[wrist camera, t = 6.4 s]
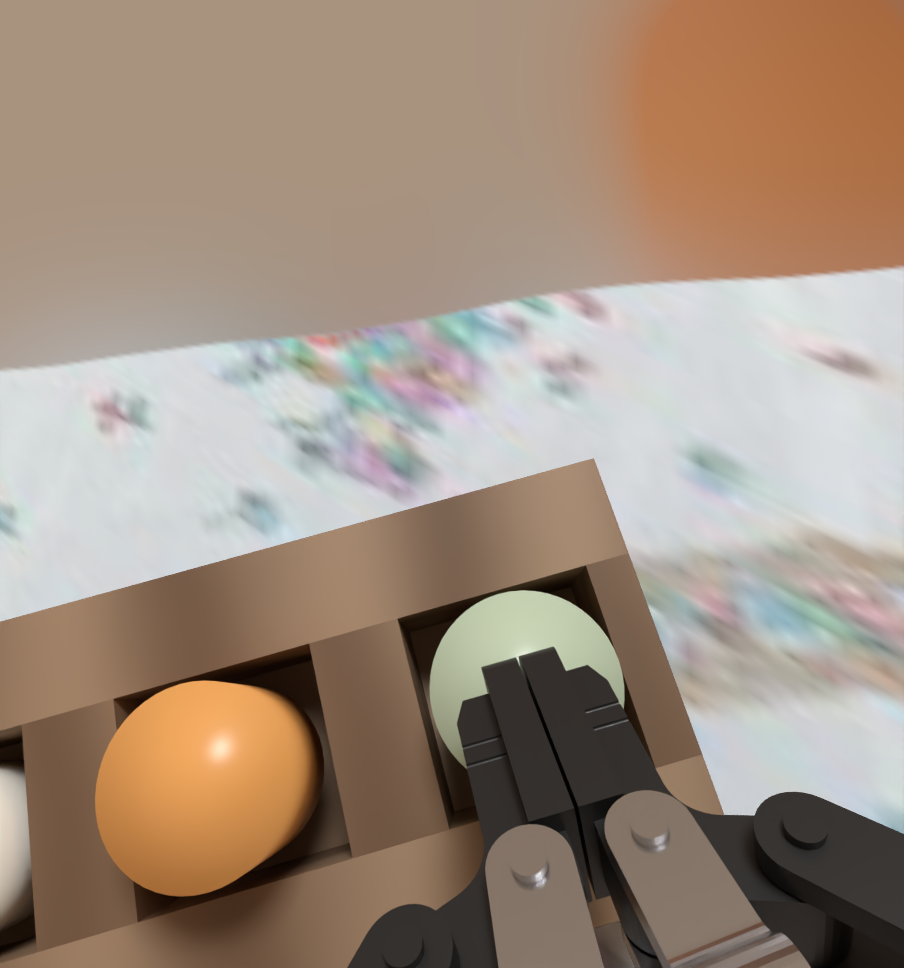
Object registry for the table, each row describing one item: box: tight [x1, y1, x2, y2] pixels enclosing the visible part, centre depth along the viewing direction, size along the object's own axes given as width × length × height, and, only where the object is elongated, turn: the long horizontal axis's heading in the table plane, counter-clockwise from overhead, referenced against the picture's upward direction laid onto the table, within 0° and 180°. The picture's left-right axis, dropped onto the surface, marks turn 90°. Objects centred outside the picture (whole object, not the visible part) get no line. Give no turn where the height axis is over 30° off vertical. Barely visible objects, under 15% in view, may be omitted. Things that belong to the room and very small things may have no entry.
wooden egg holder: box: [0, 458, 724, 968], centre depth 20 cm, size 21×10×9 cm, turn 105°
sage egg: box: [430, 590, 624, 769], centre depth 16 cm, size 4×4×3 cm
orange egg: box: [95, 681, 324, 897], centre depth 15 cm, size 4×4×3 cm
